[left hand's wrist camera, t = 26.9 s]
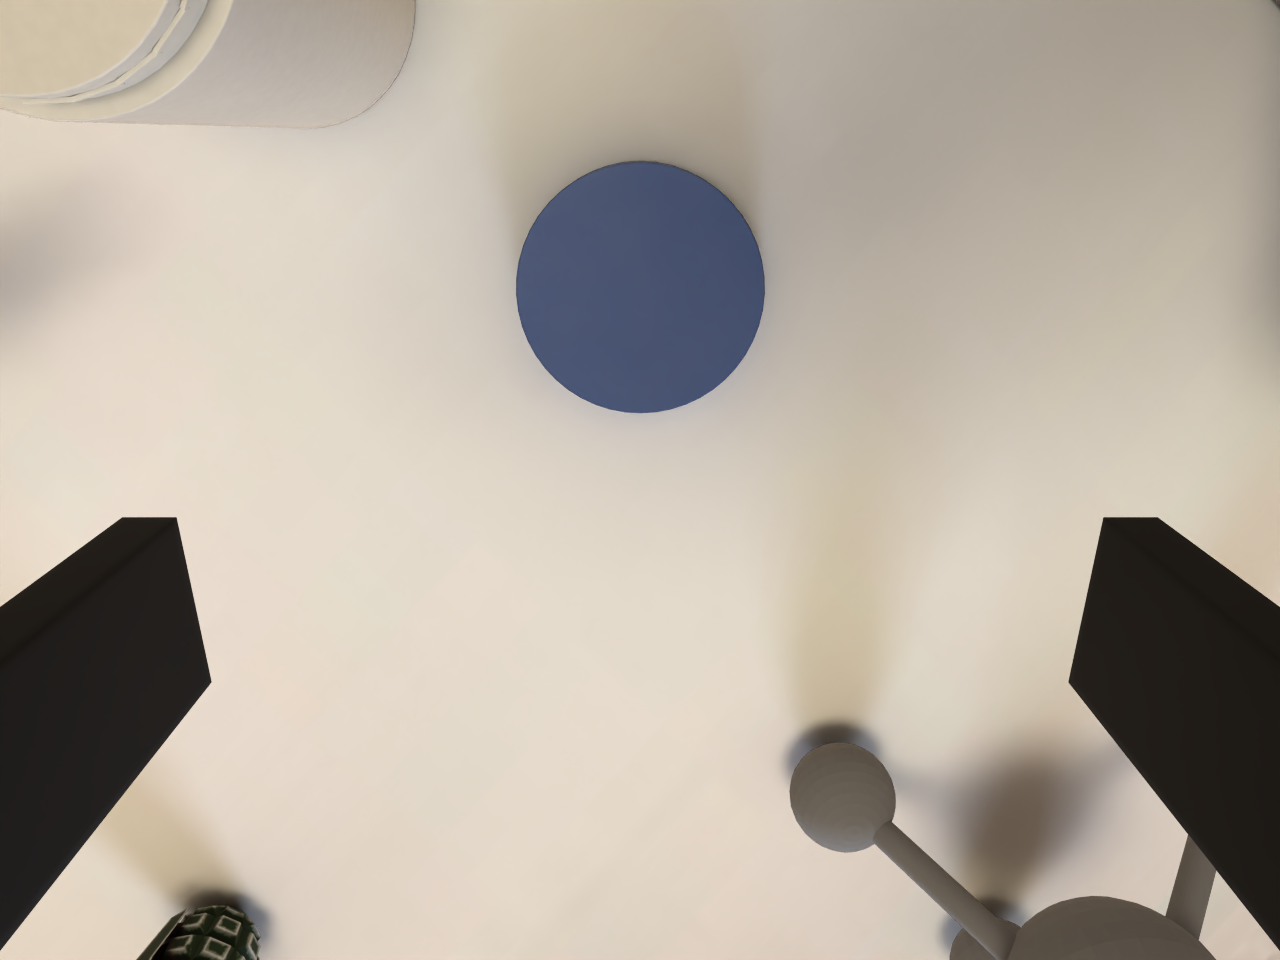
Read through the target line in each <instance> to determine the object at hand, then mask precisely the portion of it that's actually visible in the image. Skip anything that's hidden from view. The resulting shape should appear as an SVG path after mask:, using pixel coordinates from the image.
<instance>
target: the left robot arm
mask: <svg viewBox="0 0 1280 960" xmlns="http://www.w3.org/2000/svg"><path fill="white" fill-rule="evenodd" d="M1276 2H1277V3H1278V4H1279V5H1280V0H1276ZM210 683H211V677H210V673H209V668H208V663H207V659H206V654H205V649H204V644H203V640H202V635H201V630H200V626H199V621H198V616H197V612H196V607H195V602H194V597H193V593H192V588H191V583H190V579H189V574H188V569H187V565H186V560H185V555H184V550H183V546H182V541H181V536H180V532H179V527H178V522H177V518H176V517H122V518H121V519H120V520H118V521H117V522H115V523H114V524H113V525H111V526H110V527H109V528H107V529H106V530H105V531H103V532H102V533H100V534H99V535H98V536H96V537H95V538H94V539H92V540H91V541H90V542H88V543H87V544H86V545H84V546H83V547H81V548H80V549H79V550H77V551H76V552H75V553H73V554H72V555H71V556H69V557H68V558H66V559H65V560H64V561H62V562H61V563H60V564H58V565H57V566H56V567H54V568H53V569H51V570H50V571H49V572H47V573H46V574H45V575H43V576H42V577H41V578H39V579H38V580H36V581H35V582H34V583H32V584H31V585H30V586H28V587H27V588H26V589H24V590H23V591H21V592H20V593H19V594H17V595H16V596H15V597H13V598H12V599H11V600H9V601H8V602H6V603H5V604H4V605H2V606H1V607H0V950H1V949H2V948H3V946H4V945H5V944H6V943H7V941H8V940H9V939H10V938H11V936H12V935H13V934H14V932H15V931H16V930H17V929H18V927H19V926H20V925H21V924H22V922H23V921H24V920H25V919H26V917H27V916H28V915H29V913H30V912H31V911H32V910H33V908H34V907H35V906H36V905H37V903H38V902H39V901H40V899H41V898H42V897H43V896H44V894H45V893H46V892H47V891H48V889H49V888H50V887H51V885H52V884H53V883H54V882H55V880H56V879H57V878H58V877H59V875H60V874H61V873H62V872H63V870H64V869H65V868H66V866H67V865H68V864H69V863H70V861H71V860H72V859H73V858H74V856H75V855H76V854H77V852H78V851H79V850H80V849H81V847H82V846H83V845H84V844H85V842H86V841H87V840H88V838H89V837H90V836H91V835H92V833H93V832H94V831H95V830H96V828H97V827H98V826H99V824H100V823H101V822H102V821H103V819H104V818H105V817H106V816H107V814H108V813H109V812H110V811H111V809H112V808H113V807H114V805H115V804H116V803H117V802H118V800H119V799H120V798H121V797H122V795H123V794H124V793H125V791H126V790H127V789H128V788H129V786H130V785H131V784H132V783H133V781H134V780H135V779H136V777H137V776H138V775H139V774H140V772H141V771H142V770H143V769H144V767H145V766H146V765H147V764H148V762H149V761H150V760H151V758H152V757H153V756H154V755H155V753H156V752H157V751H158V750H159V748H160V747H161V746H162V744H163V743H164V742H165V741H166V739H167V738H168V737H169V736H170V734H171V733H172V732H173V730H174V729H175V728H176V727H177V725H178V724H179V723H180V722H181V720H182V719H183V718H184V716H185V715H186V714H187V713H188V711H189V710H190V709H191V708H192V706H193V705H194V704H195V703H196V701H197V700H198V699H199V697H200V696H201V695H202V694H203V692H204V691H205V690H206V689H207V687H208V686H209V685H210ZM1069 683H1070V685H1071V686H1072V687H1073V689H1074V690H1075V691H1076V692H1077V694H1078V695H1079V696H1080V697H1081V699H1082V700H1083V701H1084V703H1085V704H1086V705H1087V706H1088V708H1089V709H1090V710H1091V711H1092V713H1093V714H1094V715H1095V716H1096V718H1097V719H1098V720H1099V722H1100V723H1101V724H1102V725H1103V727H1104V728H1105V729H1106V730H1107V732H1108V733H1109V734H1110V736H1111V737H1112V738H1113V739H1114V741H1115V742H1116V743H1117V744H1118V746H1119V747H1120V748H1121V750H1122V751H1123V752H1124V753H1125V755H1126V756H1127V757H1128V758H1129V760H1130V761H1131V762H1132V764H1133V765H1134V766H1135V767H1136V769H1137V770H1138V771H1139V772H1140V774H1141V775H1142V776H1143V777H1144V779H1145V780H1146V781H1147V783H1148V784H1149V785H1150V786H1151V788H1152V789H1153V790H1154V791H1155V793H1156V794H1157V795H1158V797H1159V798H1160V799H1161V800H1162V802H1163V803H1164V804H1165V805H1166V807H1167V808H1168V809H1169V811H1170V812H1171V813H1172V814H1173V816H1174V817H1175V818H1176V819H1177V821H1178V822H1179V823H1180V824H1181V826H1182V827H1183V828H1184V830H1185V831H1186V832H1187V833H1188V835H1189V836H1190V837H1191V838H1192V840H1193V841H1194V842H1195V844H1196V845H1197V846H1198V847H1199V849H1200V850H1201V851H1202V852H1203V854H1204V855H1205V856H1206V858H1207V859H1208V860H1209V861H1210V863H1211V864H1212V865H1213V866H1214V868H1215V869H1216V870H1217V872H1218V873H1219V874H1220V875H1221V877H1222V878H1223V879H1224V880H1225V882H1226V883H1227V884H1228V885H1229V887H1230V888H1231V889H1232V891H1233V892H1234V893H1235V894H1236V896H1237V897H1238V898H1239V899H1240V901H1241V902H1242V903H1243V905H1244V906H1245V907H1246V908H1247V910H1248V911H1249V912H1250V913H1251V915H1252V916H1253V917H1254V919H1255V920H1256V921H1257V922H1258V924H1259V925H1260V926H1261V927H1262V929H1263V930H1264V931H1265V933H1266V934H1267V935H1268V936H1269V938H1270V939H1271V940H1272V941H1273V943H1274V944H1275V945H1276V946H1277V948H1278V949H1279V950H1280V607H1279V606H1278V605H1276V604H1275V603H1274V602H1272V601H1271V600H1269V599H1268V598H1267V597H1265V596H1264V595H1263V594H1261V593H1260V592H1259V591H1257V590H1256V589H1254V588H1253V587H1252V586H1250V585H1249V584H1248V583H1246V582H1245V581H1244V580H1242V579H1241V578H1239V577H1238V576H1237V575H1235V574H1234V573H1233V572H1231V571H1230V570H1229V569H1227V568H1226V567H1224V566H1223V565H1222V564H1220V563H1219V562H1218V561H1216V560H1215V559H1214V558H1212V557H1211V556H1209V555H1208V554H1207V553H1205V552H1204V551H1203V550H1201V549H1200V548H1199V547H1197V546H1196V545H1194V544H1193V543H1192V542H1190V541H1189V540H1188V539H1186V538H1185V537H1184V536H1182V535H1181V534H1180V533H1178V532H1177V531H1175V530H1174V529H1173V528H1171V527H1170V526H1169V525H1167V524H1166V523H1165V522H1163V521H1162V520H1160V519H1159V518H1158V517H1104V518H1103V522H1102V527H1101V532H1100V536H1099V541H1098V546H1097V550H1096V555H1095V560H1094V565H1093V569H1092V574H1091V579H1090V583H1089V588H1088V593H1087V597H1086V602H1085V607H1084V612H1083V616H1082V621H1081V626H1080V630H1079V635H1078V640H1077V644H1076V649H1075V654H1074V659H1073V663H1072V668H1071V673H1070V677H1069Z"/></svg>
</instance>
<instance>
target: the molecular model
mask: <svg viewBox="0 0 1280 960" xmlns="http://www.w3.org/2000/svg"><path fill="white" fill-rule="evenodd" d="M790 801H791V807H792V810H793V813H794V815H795V818H796V821H797V822H798V824H799V825H800V827H801V828H802V829H803V831H804V832H805V833H806V834H807V835H808V836H809V837H810V838H811V839H812V840H813V841H815V842H816V843H818V844H819V845H821V846H823V847H825V848H828V849H830V850H834V851H838V852H856V851H860V850H863V849H866V848H868V847H870V846H872V845H873V844H875V845H876V846H877V847H879V848H880V849H881V850H882V851H883V852H884V853H885V854H886V855H887V856H888V857H889V858H890V859H891V860H892V861H893V862H894V863H895V864H896V865H898V866H899V867H900V868H901V869H902V870H903V871H904V872H905V873H906V874H907V875H908V876H909V877H910V878H911V879H912V880H913V881H914V882H916V883H917V884H918V885H919V886H920V887H921V888H922V889H923V890H924V891H925V892H926V893H927V894H928V895H929V896H930V897H931V898H932V899H933V900H935V901H936V902H937V903H938V904H939V905H940V906H941V907H942V908H943V909H944V910H945V911H946V912H947V913H948V914H949V915H950V916H951V917H952V918H954V919H955V920H956V921H957V922H958V923H959V924H960V925H961V926H962V927H963V929H962V930H961V931H960V932H959V933H958V935H957V936H956V938H955V940H954V942H953V944H952V948H951V953H950V960H1216V959H1215V958H1214V957H1213V956H1212V954H1211V953H1210V952H1209V951H1208V950H1207V949H1206V948H1205V947H1204V945H1203V944H1202V943H1201V942H1200V941H1199V936H1200V932H1201V928H1202V924H1203V920H1204V917H1205V913H1206V909H1207V905H1208V901H1209V897H1210V893H1211V889H1212V885H1213V881H1214V877H1215V873H1216V869H1215V868H1214V866H1213V865H1212V864H1211V863H1210V861H1209V860H1208V859H1207V858H1206V856H1205V855H1204V854H1203V852H1202V851H1201V850H1200V849H1199V847H1198V846H1197V845H1196V844H1195V842H1194V841H1193V840H1192V838H1191V837H1190V836H1189V835H1188V837H1187V841H1186V845H1185V848H1184V852H1183V855H1182V859H1181V862H1180V866H1179V870H1178V873H1177V877H1176V880H1175V884H1174V887H1173V891H1172V895H1171V898H1170V902H1169V905H1168V909H1167V912H1166V916H1163V915H1162V914H1160V913H1158V912H1156V911H1154V910H1152V909H1150V908H1147V907H1145V906H1142V905H1140V904H1137V903H1133V902H1129V901H1125V900H1121V899H1116V898H1111V897H1103V896H1089V897H1079V898H1074V899H1069V900H1065V901H1061V902H1059V903H1056V904H1054V905H1051V906H1049V907H1048V908H1046V909H1044V910H1042V911H1041V912H1039V913H1038V914H1036V915H1035V916H1033V917H1032V918H1031V919H1030V920H1029V921H1027V922H1026V923H1025V924H1024V925H1023V926H1022V928H1021V927H1019V926H1018V925H1016V924H1014V923H1012V922H1009V921H1006V920H1003V919H999V918H996V917H995V916H994V915H993V914H992V913H991V912H990V911H989V910H987V909H986V908H985V907H984V906H983V905H982V904H981V903H980V902H979V901H978V900H977V899H975V898H974V897H973V896H972V895H971V894H970V893H969V892H968V891H967V890H966V889H964V888H963V887H962V886H961V885H960V884H959V883H958V882H957V881H956V880H955V879H954V878H952V877H951V876H950V875H949V874H948V873H947V872H946V871H945V870H944V869H943V868H941V867H940V866H939V865H938V864H937V863H936V862H935V861H934V860H933V859H932V858H931V857H929V856H928V855H927V854H926V853H925V852H924V851H923V850H922V849H921V848H920V847H918V846H917V845H916V844H915V843H914V842H913V841H912V840H911V839H910V838H909V837H907V836H906V835H905V834H904V833H903V832H902V831H901V830H900V829H899V828H898V827H897V826H895V825H894V824H893V823H892V820H893V817H894V813H895V804H896V799H895V790H894V786H893V783H892V780H891V777H890V776H889V774H888V772H887V770H886V769H885V767H884V766H883V764H882V763H881V762H880V761H879V760H878V759H877V758H876V757H875V756H874V755H873V754H871V753H870V752H868V751H867V750H865V749H863V748H861V747H859V746H856V745H854V744H849V743H839V742H837V743H829V744H825V745H822V746H819V747H817V748H815V749H813V750H812V751H810V752H809V753H807V754H806V755H805V756H804V757H803V758H802V759H801V761H800V762H799V764H798V765H797V767H796V769H795V771H794V773H793V776H792V779H791V785H790Z"/></svg>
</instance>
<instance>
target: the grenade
mask: <svg viewBox="0 0 1280 960" xmlns="http://www.w3.org/2000/svg"><path fill="white" fill-rule="evenodd" d="M189 908H190V907H189ZM189 908H187V909H185V910H184V911H182V912H180V913H179V914H177V915H175V916H174V917H172V918H171V919H170V920H169V921H168V922H167V924H166V925H165V926H164V927H163V928H162V930H161V931H160V932H159V933H158V934H157V936H156V937H155V938H154V939H153V940H152V942H151V943H150V944H149V945H148V946H147V948H146V949H145V950H144V951H143V952H142V953H141V955H140V956H139V957H138V958H137V959H136V960H259V957H258V952H259V949H260V948H261V947H260V945H259V943H258V940H259V938H260V937H261V935H260V933H259V931H258V929H257V927H256V925H255V924H254V923H253V922H252V921H251V920H250V919H249V917H248V916H247V915H246V914H245V913H243V912H241V911H239V910H236V909H234V908H232V907H230V906H207V907H202V908H196V910H195V912H194V913H192V914H188V915H185V916H184V914H185V913H186V912H187V910H188V909H189ZM183 916H184V918H183V920H182V921H181V923H178V922H179V921H180V920H181V918H182V917H183Z"/></svg>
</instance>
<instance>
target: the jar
mask: <svg viewBox="0 0 1280 960" xmlns="http://www.w3.org/2000/svg"><path fill="white" fill-rule="evenodd" d="M414 17H415V0H0V108H1V109H3V110H7V111H10V112H14V113H17V114H20V115H24V116H27V117H32V118H38V119H44V120H50V121H57V122H93V123H129V124H165V125H201V126H237V127H273V128H310V129H312V128H320V127H328V126H331V125H335V124H339V123H342V122H344V121H347V120H349V119H351V118H353V117H356V116H357V115H359V114H360V113H362V112H363V111H365V110H367V109H368V108H369V107H370V106H372V105H373V104H374V103H375V102H376V101H377V100H379V99H380V98H381V97H382V95H383V94H384V93H385V92H386V91H387V90H388V88H389V87H390V86H391V84H392V83H393V81H394V80H395V78H396V77H397V75H398V73H399V72H400V69H401V67H402V65H403V63H404V61H405V59H406V56H407V53H408V49H409V46H410V43H411V39H412V33H413V27H414Z"/></svg>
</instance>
